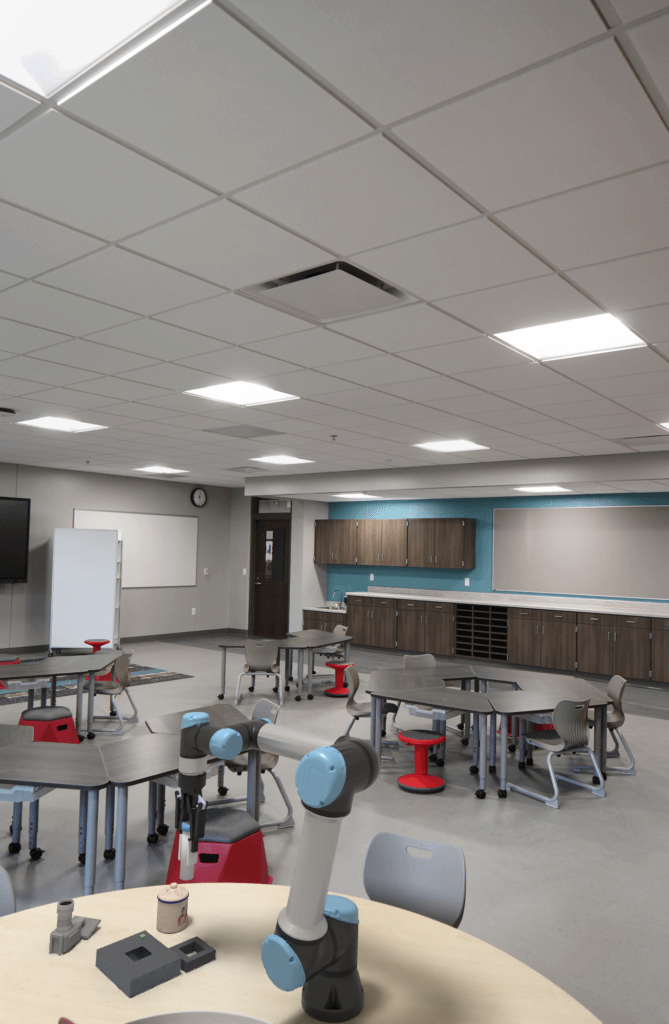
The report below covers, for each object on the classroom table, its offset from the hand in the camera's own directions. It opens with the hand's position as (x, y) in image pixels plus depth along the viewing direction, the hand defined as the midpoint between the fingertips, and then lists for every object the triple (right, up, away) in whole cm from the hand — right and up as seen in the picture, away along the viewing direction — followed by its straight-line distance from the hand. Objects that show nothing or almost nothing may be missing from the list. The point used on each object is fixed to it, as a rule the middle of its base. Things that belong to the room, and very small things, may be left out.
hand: (187, 861), depth 175 cm
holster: (+2, -25, -2) cm, 25 cm away
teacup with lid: (-8, -27, +15) cm, 32 cm away
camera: (-33, -25, +5) cm, 42 cm away
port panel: (-11, -24, -8) cm, 28 cm away
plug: (0, -4, 0) cm, 4 cm away
